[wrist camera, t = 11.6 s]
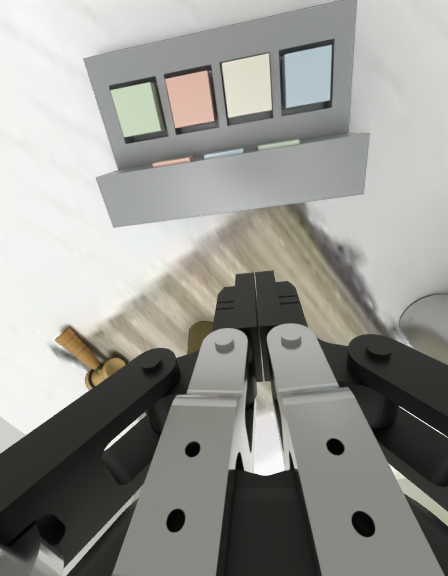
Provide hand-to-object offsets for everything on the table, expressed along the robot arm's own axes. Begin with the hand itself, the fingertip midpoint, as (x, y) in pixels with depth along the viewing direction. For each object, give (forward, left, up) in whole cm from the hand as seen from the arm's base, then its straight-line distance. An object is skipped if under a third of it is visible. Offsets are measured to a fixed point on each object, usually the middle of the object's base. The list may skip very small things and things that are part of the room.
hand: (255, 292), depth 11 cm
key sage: (+10, -9, -25) cm, 29 cm away
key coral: (+5, -9, -26) cm, 27 cm away
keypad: (+2, -7, -27) cm, 28 cm away
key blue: (-6, -9, -26) cm, 28 cm away
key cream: (-1, -9, -24) cm, 25 cm away
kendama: (+31, +28, -27) cm, 50 cm away
